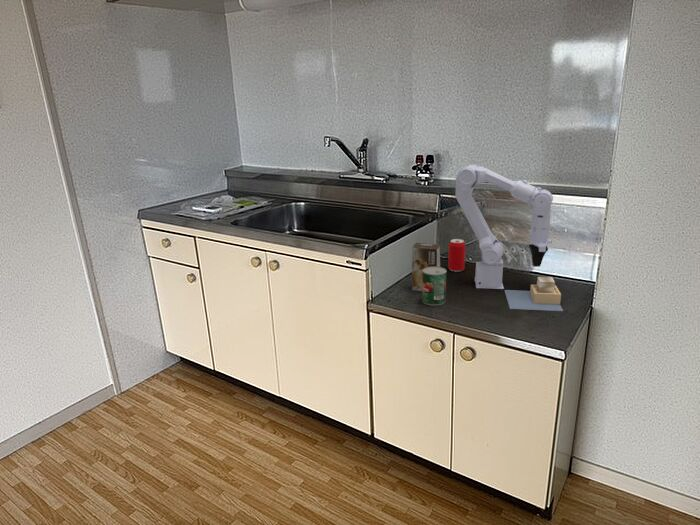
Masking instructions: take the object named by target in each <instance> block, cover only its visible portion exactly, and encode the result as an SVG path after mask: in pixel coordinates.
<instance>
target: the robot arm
mask: <svg viewBox="0 0 700 525" xmlns="http://www.w3.org/2000/svg"><path fill="white" fill-rule="evenodd" d="M484 183H489V184H491V185H494V186H496V187H499V188H501V189H504V190H506V191H509V193H510V195H511V197H513V198H514V199H518V201H519V200H520V201H522V202H524V203H526V204H528V205H532V213H531V222H530V224H531V225H530V232H529V233H530V235H529V239H528V242H529V244H528V246H529V249H530V250H529V251H530V253H531V261H532V267H539V268H541V266H542V263H543V259H544V256H545V255H546V254H547V252H548V251H549V247H548V244H552V239H550V238H549V235H550V225H551V215H552V214H551V211H552V203H553V200H554V196H553V194H552V193H551V191H549V190H548V189H544V188H543V189H542V187H540V186H538V187H537V186H534V185H532V184H529V183H528V180H525V179H523V181H522V180H520V179H519V180H517V181H513V180H511V179H510V178H507V177H505V176H503V175H501V174H499V173H497V172H495V171H492V170H491V169H489V168H486V167H485V166H482V165H478V164H475V163H470V164H468V165H466V166H464V167H462V168H461V169H460V170H459V171H458V173H457V175H456V177H455V193H454V194H455V195H454V196H455V199H456V200H457V202H458V204H459V206H460V208H461V210H462V213H463V214H464V216H465V218H466V219H467V221H468V223H469V225H470V227H471V229H472V231H473V232H474V235H475V237H476V238H477V240H478V245H479V249H480V251H481V259H482V260H481V261H476V263H475V273H474V274H475V275H474V282H475V284H474V285H475V288H476V289H495V290H496V289H497V290H499V289H500V290H505V287H504V284H503V272H504V260H503V258H502V256H503V255H504V254H505V253H506V252H505V251H506V248H505V245H504V244H503V243H502V242H501V241H499V240H498V238H497V236H496V235H495V234H493V233H492V231H491V229H490V227H489V225H488V223H487V221H486V219H485V218H484V215H483V214H482V211H481V210H480V208H479V206H478V204H477V202H476V200H475V199H474V197H473V195H472V193H473V191H474V189H475V186H476V185H477V184H484Z"/></svg>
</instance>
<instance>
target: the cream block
mask: <svg viewBox="0 0 700 525" xmlns="http://www.w3.org/2000/svg"><path fill="white" fill-rule="evenodd" d="M536 285H537V292H538V293H553V294H554V286H555V285H556V282H555V280H554V277H553V276H537V281H536Z"/></svg>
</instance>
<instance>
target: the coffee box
mask: <svg viewBox="0 0 700 525" xmlns="http://www.w3.org/2000/svg"><path fill="white" fill-rule="evenodd" d="M426 267H441V244H437V243H436V244H435V243H425V242H423V243H422V242H416V243H415V244H413V247H412V248H411V286H412V287H411V290H412V291H418V292H422V277H423V276H422V275H423V271H422V270H423V269H424V268H426Z"/></svg>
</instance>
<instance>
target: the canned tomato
mask: <svg viewBox="0 0 700 525" xmlns="http://www.w3.org/2000/svg"><path fill="white" fill-rule="evenodd" d="M422 271H423V275H422V276H423V277H422V291H421V302H422V303H423V304H424V305H428V306H433V307H434V306H441V305H444V304H445V303H446V302H447V301H446V298H447V272H448V271H447V269H446V268H444V267H442V266H440V267H426V268H424V269H423V270H422Z"/></svg>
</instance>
